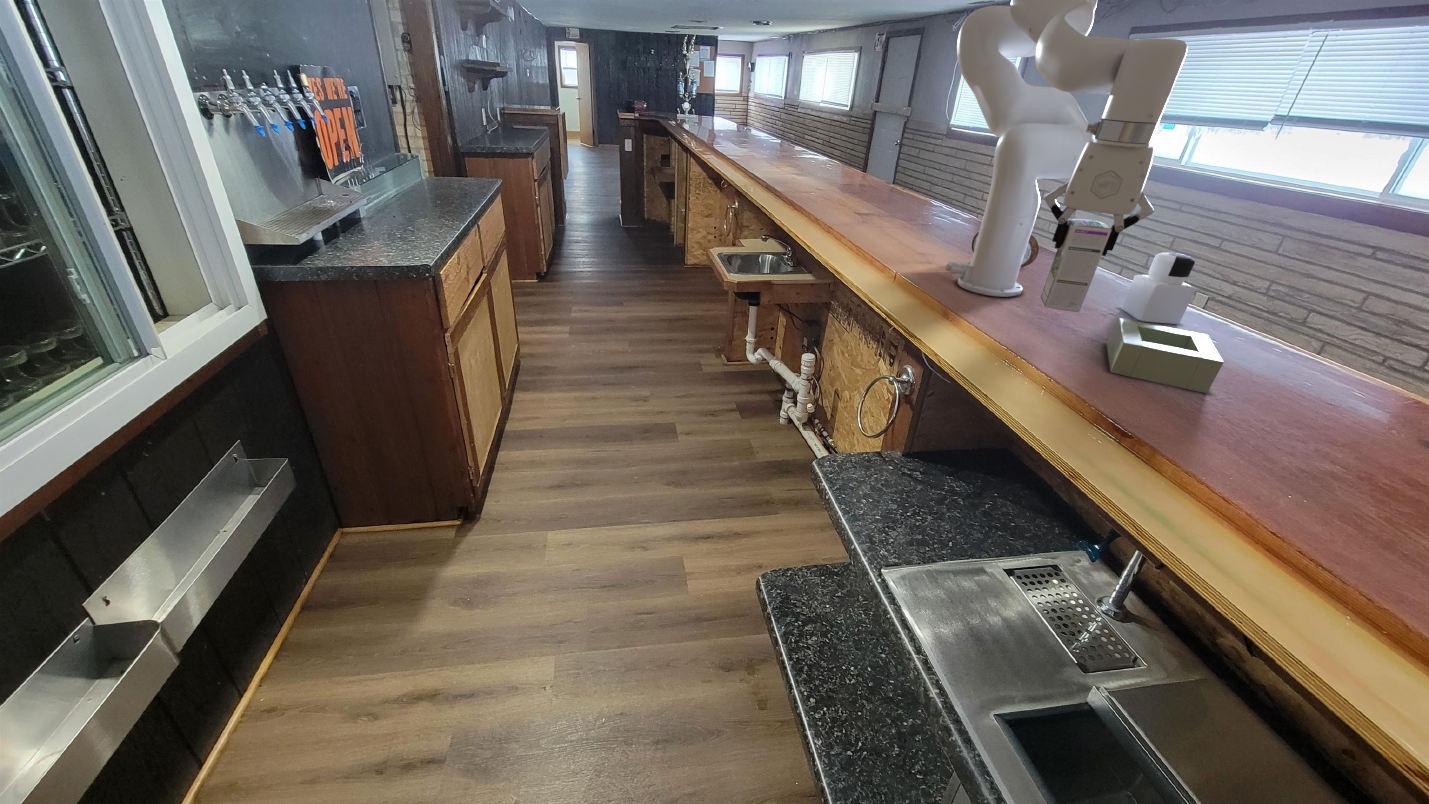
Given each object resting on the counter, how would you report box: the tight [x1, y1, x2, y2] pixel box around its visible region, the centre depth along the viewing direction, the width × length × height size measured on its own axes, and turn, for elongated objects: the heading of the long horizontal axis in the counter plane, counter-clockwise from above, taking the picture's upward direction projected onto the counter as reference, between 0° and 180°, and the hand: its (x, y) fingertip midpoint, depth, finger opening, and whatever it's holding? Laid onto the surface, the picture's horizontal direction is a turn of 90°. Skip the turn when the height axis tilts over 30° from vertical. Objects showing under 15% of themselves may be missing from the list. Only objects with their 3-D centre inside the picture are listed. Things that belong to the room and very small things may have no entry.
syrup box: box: [1040, 217, 1111, 313], centre depth 97 cm, size 6×6×14 cm
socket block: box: [1106, 317, 1225, 394], centre depth 87 cm, size 12×12×5 cm
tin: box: [971, 231, 1040, 269], centre depth 135 cm, size 15×3×8 cm, turn 43°
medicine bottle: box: [1120, 251, 1196, 325], centre depth 106 cm, size 7×7×12 cm
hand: (1079, 249), depth 96 cm, fingers closed on syrup box, 6 cm apart
